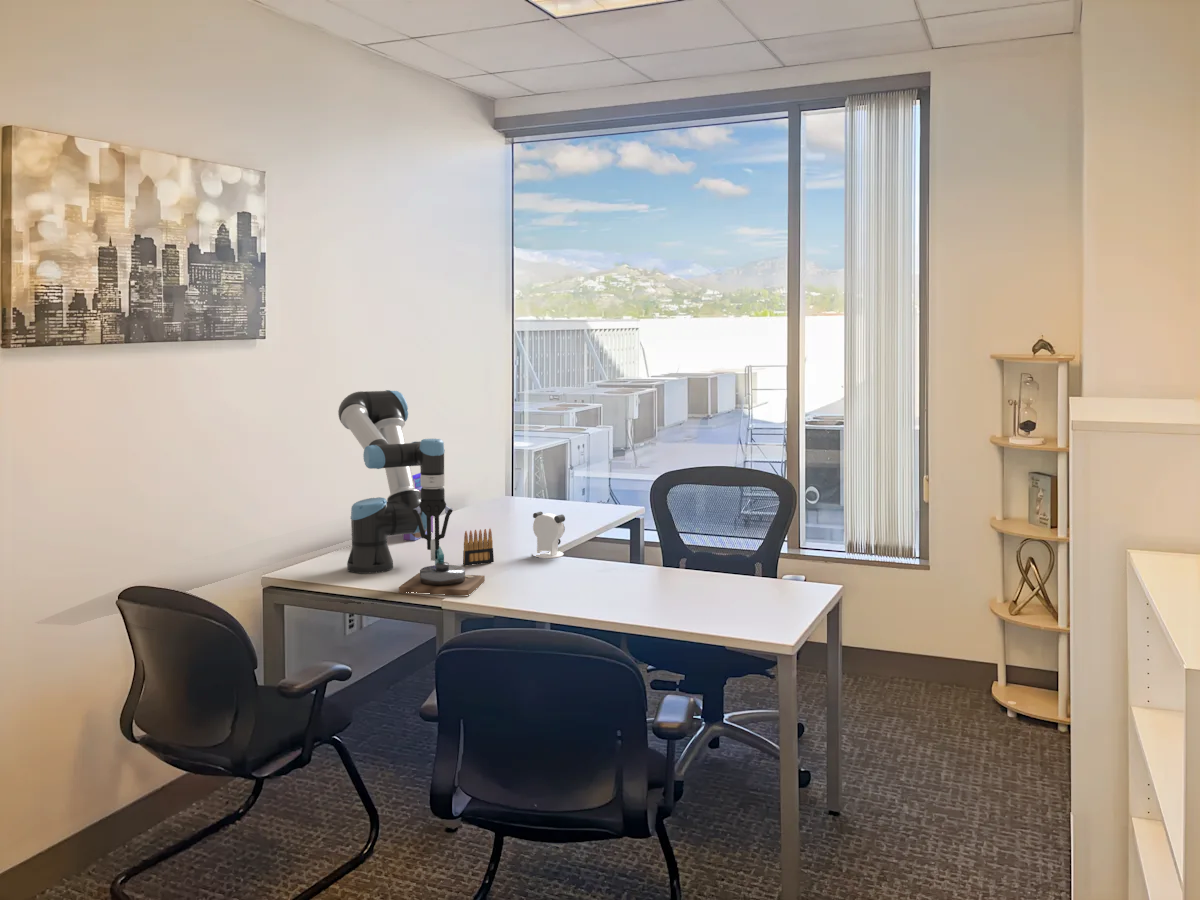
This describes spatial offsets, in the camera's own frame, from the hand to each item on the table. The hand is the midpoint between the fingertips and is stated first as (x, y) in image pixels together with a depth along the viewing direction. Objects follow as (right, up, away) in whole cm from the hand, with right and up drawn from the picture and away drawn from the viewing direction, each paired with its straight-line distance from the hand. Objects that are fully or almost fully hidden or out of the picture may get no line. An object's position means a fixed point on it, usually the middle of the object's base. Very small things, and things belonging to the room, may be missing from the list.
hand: (433, 559), depth 323 cm
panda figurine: (+35, -2, +36) cm, 50 cm away
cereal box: (-17, +2, +68) cm, 70 cm away
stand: (+5, -8, -9) cm, 13 cm away
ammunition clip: (+12, -4, +23) cm, 26 cm away
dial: (+3, -5, -5) cm, 8 cm away
